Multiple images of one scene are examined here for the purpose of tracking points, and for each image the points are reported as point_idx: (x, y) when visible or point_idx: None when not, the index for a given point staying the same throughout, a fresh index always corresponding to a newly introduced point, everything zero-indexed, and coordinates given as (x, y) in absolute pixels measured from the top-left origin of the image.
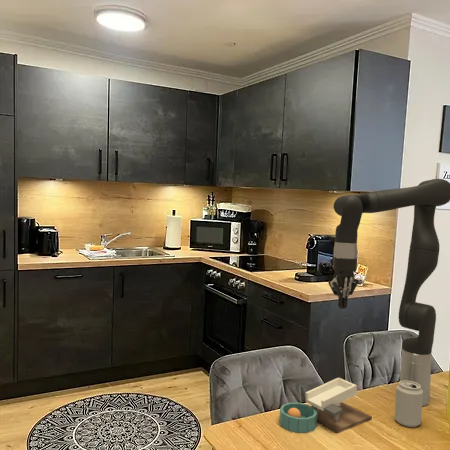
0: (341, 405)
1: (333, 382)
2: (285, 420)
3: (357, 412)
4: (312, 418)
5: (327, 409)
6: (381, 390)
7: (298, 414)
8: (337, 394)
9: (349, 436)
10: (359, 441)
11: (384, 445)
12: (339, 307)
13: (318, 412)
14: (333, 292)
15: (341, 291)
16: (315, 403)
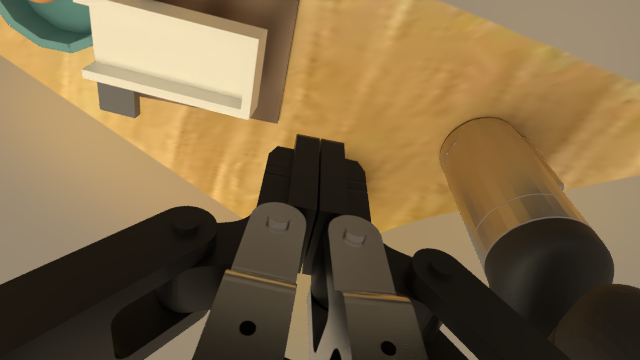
0: (270, 30)
1: (218, 37)
2: None
3: (267, 87)
4: (60, 50)
5: (99, 83)
6: (504, 58)
7: (35, 1)
8: (151, 94)
9: (152, 118)
10: (155, 142)
11: (189, 182)
12: (295, 142)
13: (165, 1)
14: (122, 238)
15: (331, 268)
16: (94, 34)
